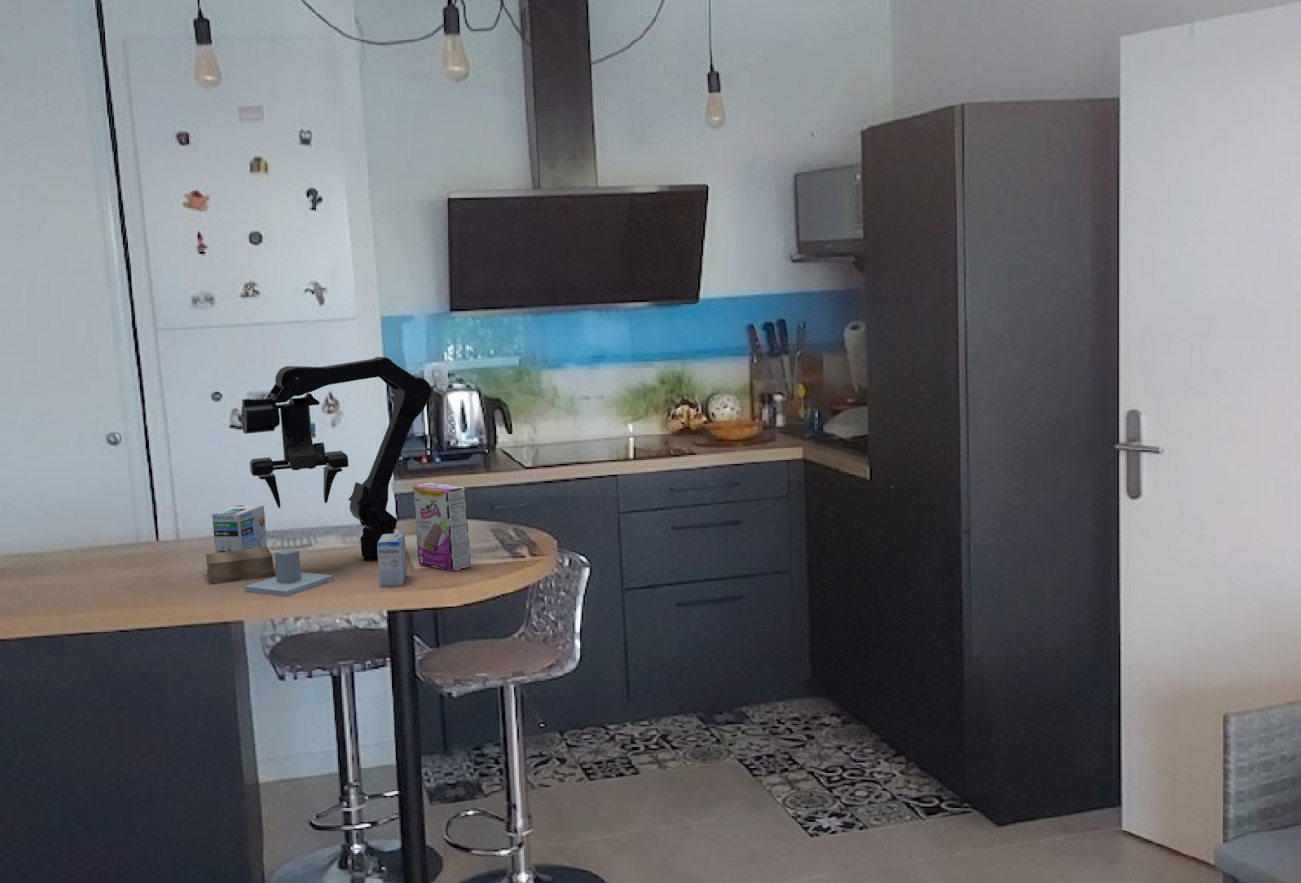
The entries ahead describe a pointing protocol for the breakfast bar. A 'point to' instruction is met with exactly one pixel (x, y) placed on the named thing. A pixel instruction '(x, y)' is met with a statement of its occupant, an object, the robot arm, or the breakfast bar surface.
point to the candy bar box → (441, 525)
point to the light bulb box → (239, 528)
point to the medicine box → (392, 559)
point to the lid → (288, 577)
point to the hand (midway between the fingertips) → (302, 505)
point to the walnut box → (239, 565)
